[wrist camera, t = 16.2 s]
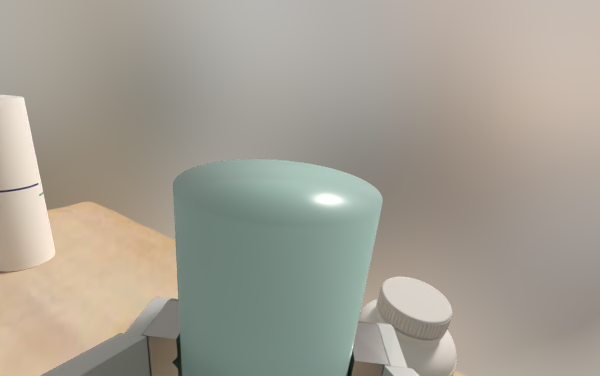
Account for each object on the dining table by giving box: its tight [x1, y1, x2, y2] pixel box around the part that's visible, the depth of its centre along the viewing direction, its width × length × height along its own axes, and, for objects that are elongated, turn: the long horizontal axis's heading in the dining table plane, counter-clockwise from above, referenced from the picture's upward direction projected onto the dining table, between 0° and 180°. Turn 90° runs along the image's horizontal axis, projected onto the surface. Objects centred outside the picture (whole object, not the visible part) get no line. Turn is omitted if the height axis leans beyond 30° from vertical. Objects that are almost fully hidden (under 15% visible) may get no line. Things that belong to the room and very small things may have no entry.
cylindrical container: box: [0, 95, 55, 272], centre depth 41 cm, size 7×7×25 cm
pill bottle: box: [358, 277, 456, 376], centre depth 24 cm, size 8×8×15 cm
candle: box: [173, 159, 382, 376], centre depth 9 cm, size 5×5×13 cm
